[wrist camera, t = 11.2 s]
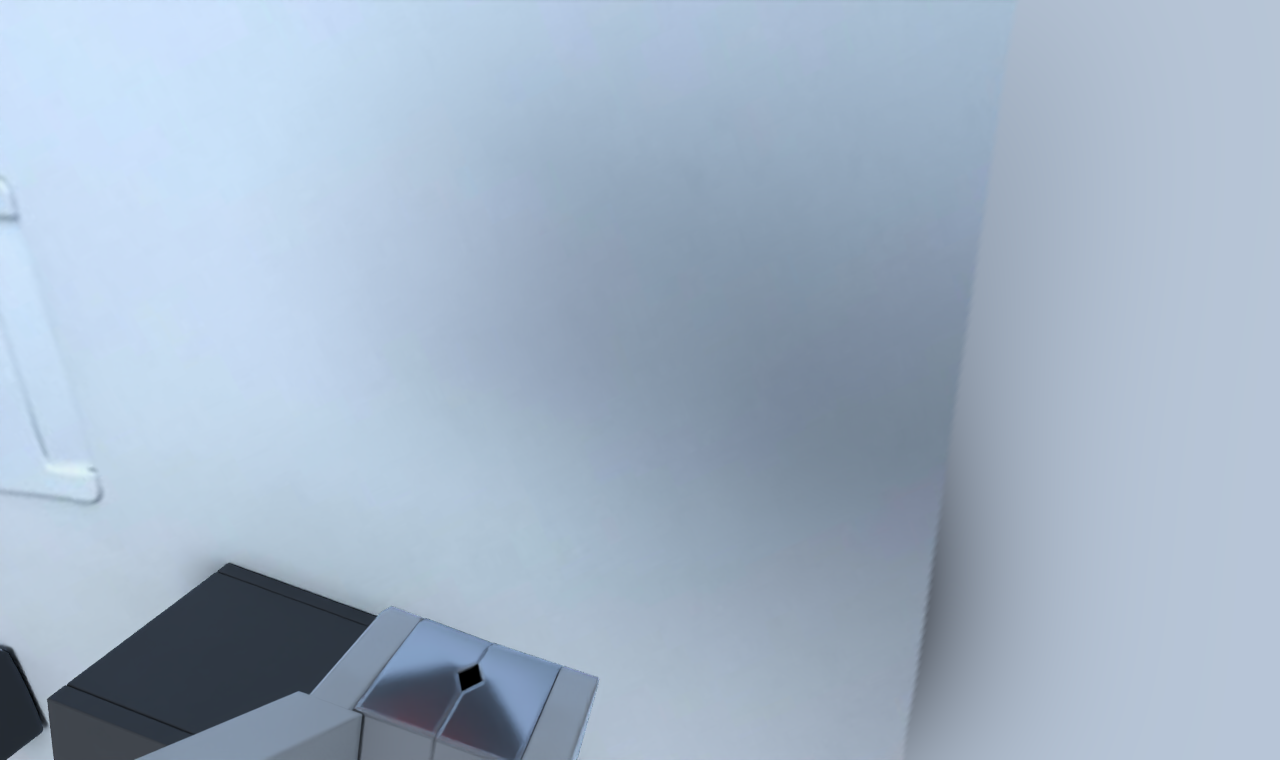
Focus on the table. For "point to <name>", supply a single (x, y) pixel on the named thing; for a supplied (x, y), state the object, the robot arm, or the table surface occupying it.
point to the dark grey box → (202, 666)
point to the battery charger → (15, 710)
